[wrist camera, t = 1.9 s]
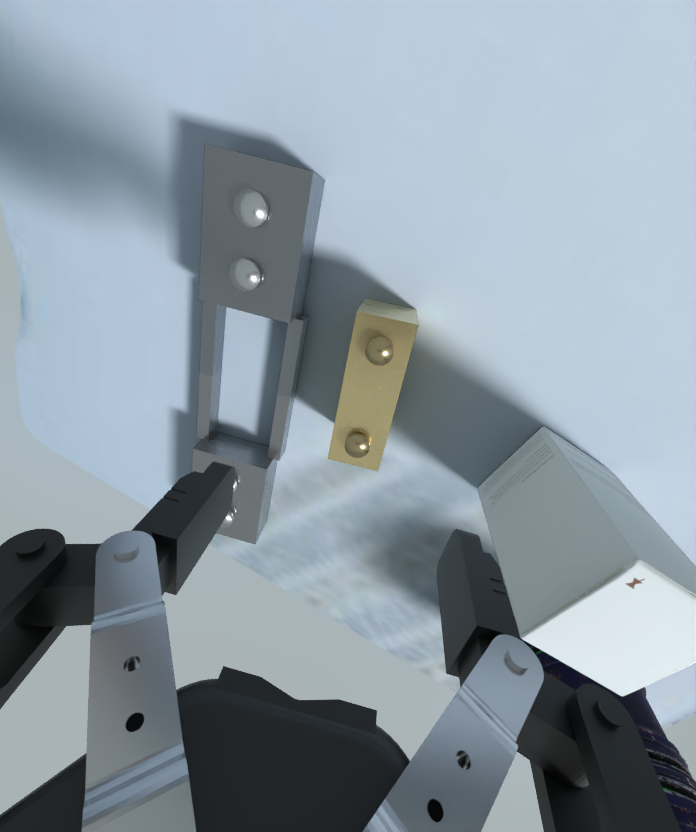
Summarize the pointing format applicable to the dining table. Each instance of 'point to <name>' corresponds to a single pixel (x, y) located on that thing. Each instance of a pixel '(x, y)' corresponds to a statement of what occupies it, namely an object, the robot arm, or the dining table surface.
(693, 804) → the dark purple cylinder
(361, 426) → the link
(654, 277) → the dining table surface
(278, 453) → the chain end
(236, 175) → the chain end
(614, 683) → the supplement box
